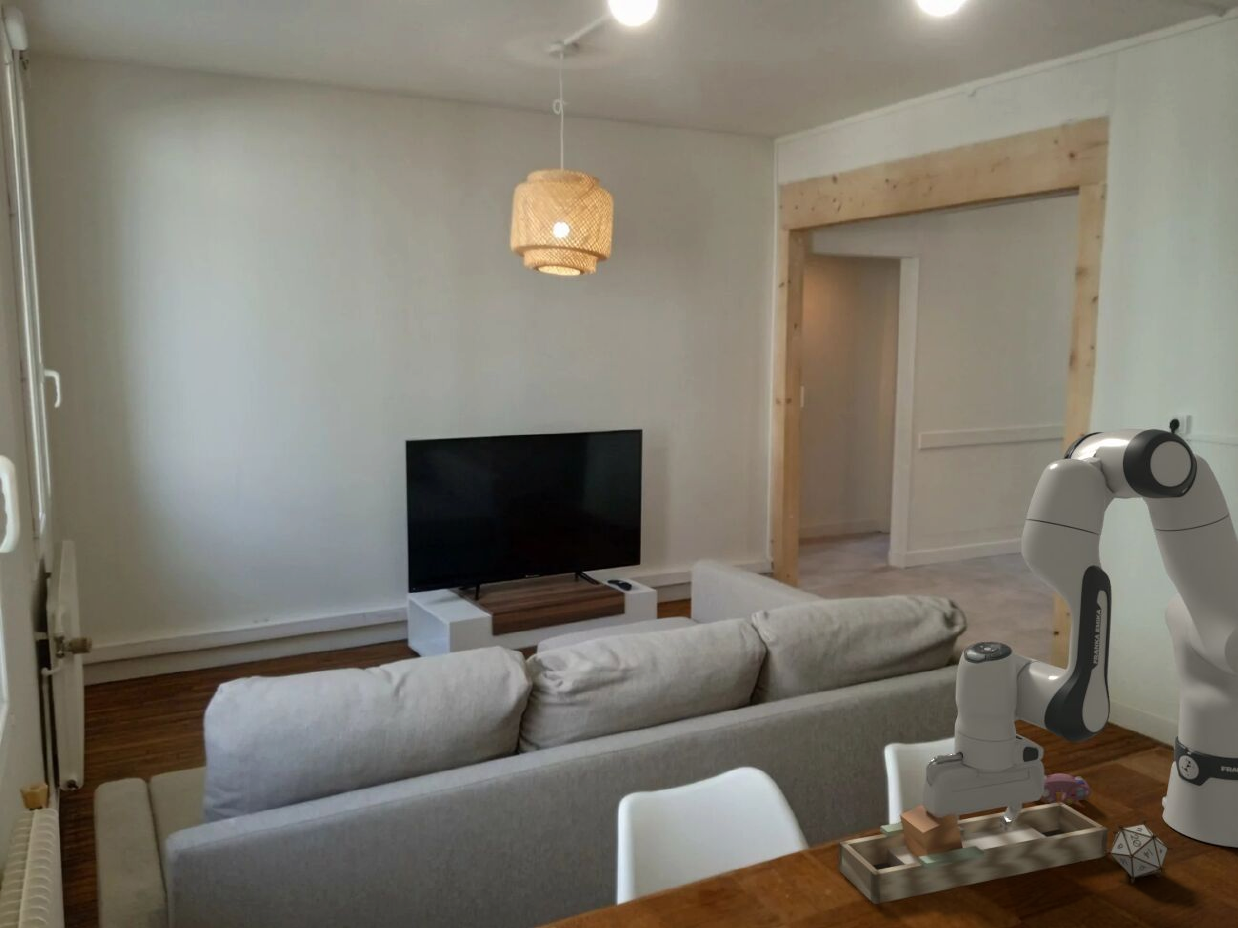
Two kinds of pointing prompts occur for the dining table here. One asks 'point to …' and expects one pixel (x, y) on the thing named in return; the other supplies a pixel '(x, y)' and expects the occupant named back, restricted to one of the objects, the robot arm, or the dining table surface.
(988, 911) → the dining table surface
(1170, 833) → the dining table surface
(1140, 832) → the game die
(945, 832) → the block
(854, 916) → the dining table surface
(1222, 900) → the dining table surface
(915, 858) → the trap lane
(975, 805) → the robot arm
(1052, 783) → the video game controller
